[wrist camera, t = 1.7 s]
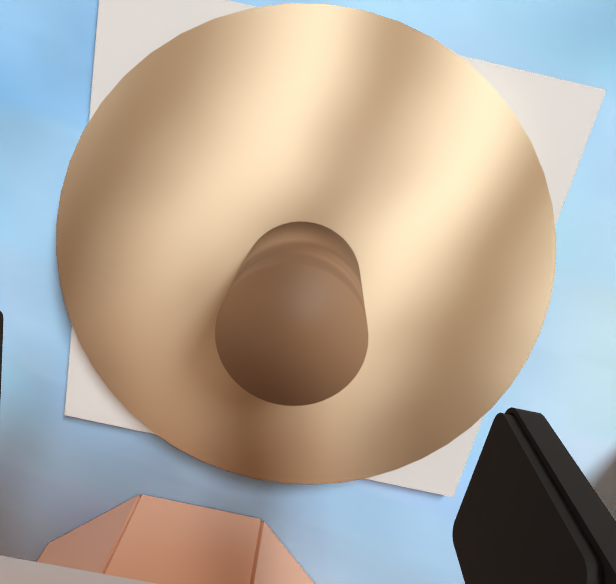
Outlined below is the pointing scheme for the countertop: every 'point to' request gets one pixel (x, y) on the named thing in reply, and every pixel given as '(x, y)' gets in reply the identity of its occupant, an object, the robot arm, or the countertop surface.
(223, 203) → the lid
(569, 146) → the mat
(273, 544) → the bowl
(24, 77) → the countertop surface
